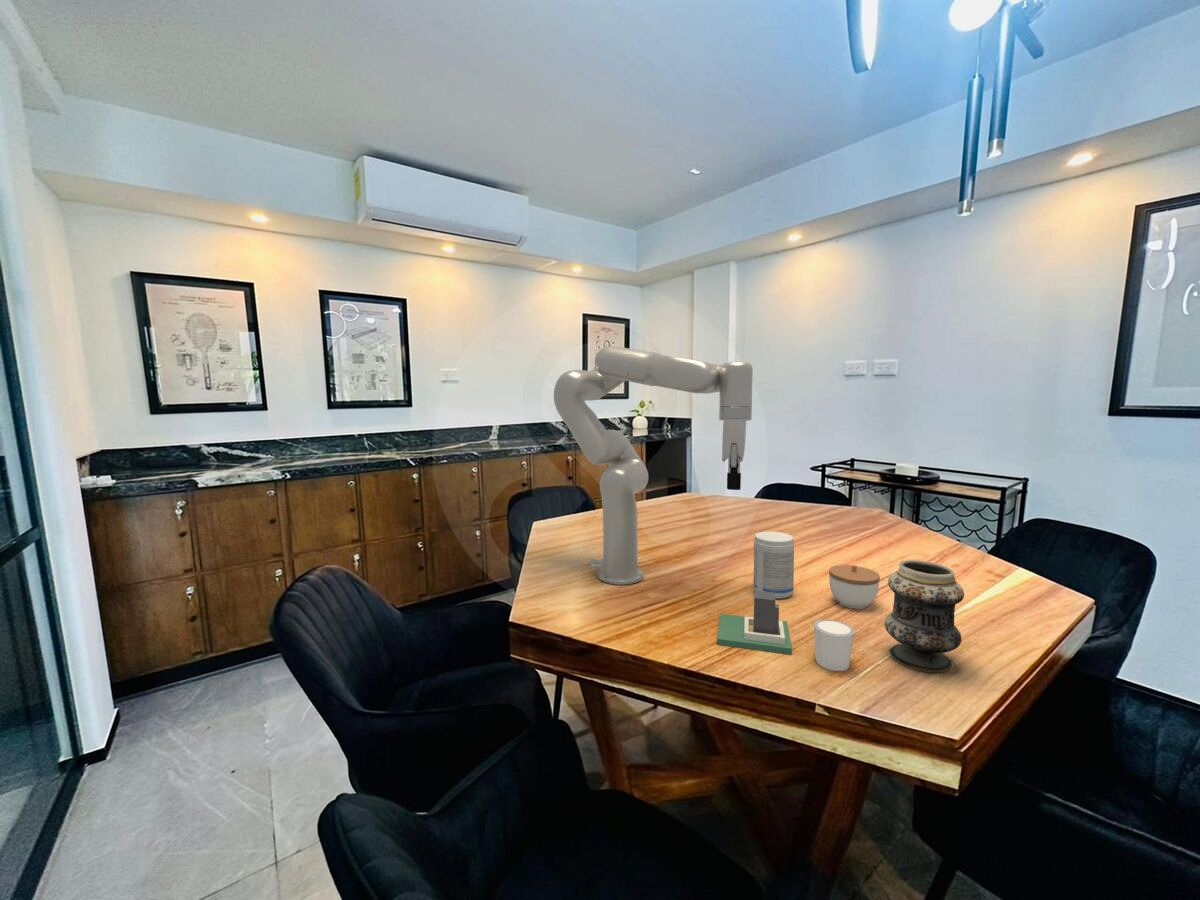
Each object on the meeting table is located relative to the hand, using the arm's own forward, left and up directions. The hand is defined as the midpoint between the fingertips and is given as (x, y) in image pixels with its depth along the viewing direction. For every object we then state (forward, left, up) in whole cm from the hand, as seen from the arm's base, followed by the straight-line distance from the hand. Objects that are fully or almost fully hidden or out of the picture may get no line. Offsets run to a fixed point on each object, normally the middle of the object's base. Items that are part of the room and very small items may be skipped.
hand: (733, 489), depth 119 cm
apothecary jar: (+35, -21, -27) cm, 49 cm away
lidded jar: (+28, +3, -27) cm, 39 cm away
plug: (+7, -21, -26) cm, 34 cm away
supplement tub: (+10, +5, -27) cm, 30 cm away
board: (+5, -20, -27) cm, 34 cm away
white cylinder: (+19, -27, -27) cm, 43 cm away
